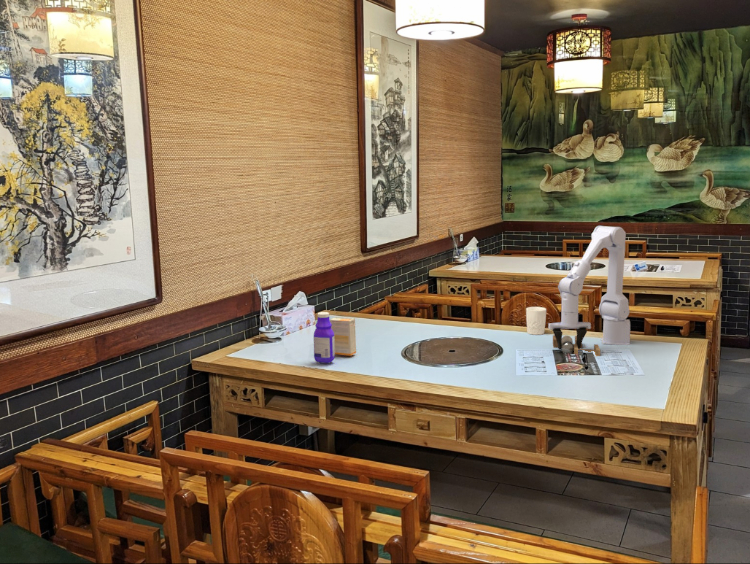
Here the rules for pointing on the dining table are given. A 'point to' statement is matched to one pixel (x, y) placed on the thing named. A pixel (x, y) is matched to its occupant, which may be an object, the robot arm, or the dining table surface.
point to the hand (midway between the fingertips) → (569, 348)
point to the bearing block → (557, 344)
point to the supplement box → (344, 335)
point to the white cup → (535, 320)
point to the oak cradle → (596, 349)
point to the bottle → (324, 339)
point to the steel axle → (567, 344)
